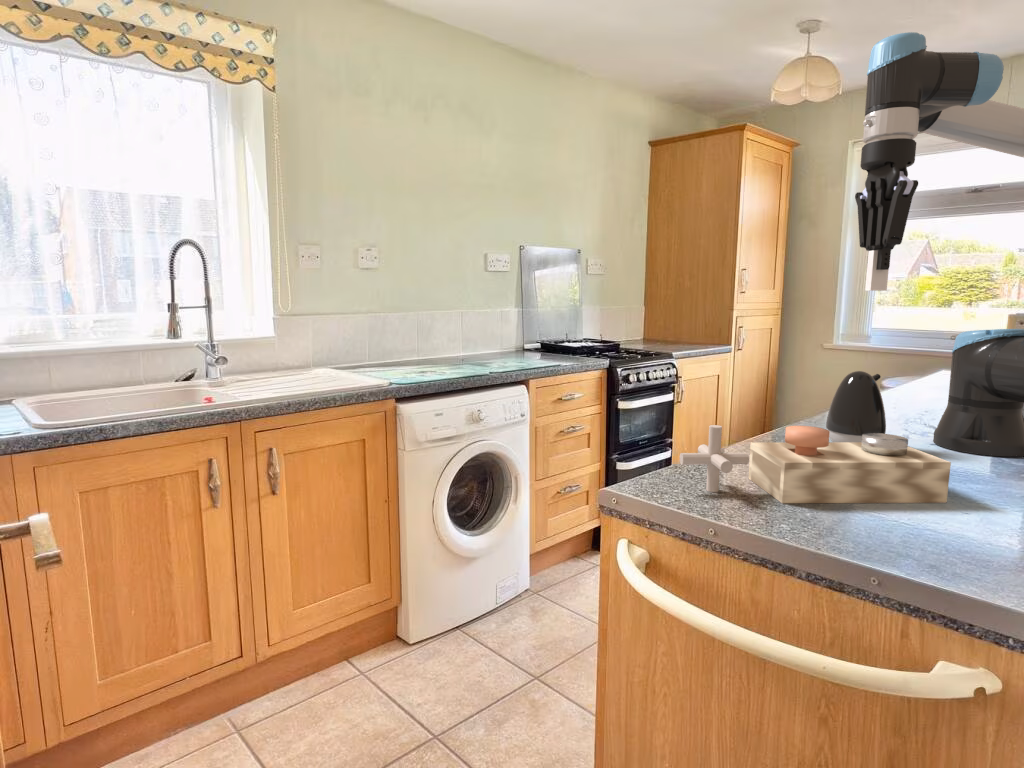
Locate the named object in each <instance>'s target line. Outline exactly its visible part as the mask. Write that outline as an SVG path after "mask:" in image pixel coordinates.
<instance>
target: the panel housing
mask: <svg viewBox="0 0 1024 768" xmlns="http://www.w3.org/2000/svg"><path fill="white" fill-rule="evenodd" d="M861 444H862V442H832V441H831V442H830V441H829V445H828V446H827V447H821V448H817V455H798V454H796V453H795V445H791V444H788V443H786V442H785V441H784V442H780V441H779V442H750V445H749V447H750V448H749V463H748V464H749V465H748V479H749V480H750V481H751V482H753V483H754V484H755V485H757V486H758V487H759V488H761V489H762V490H764V491H765V492H766V493H768V494H769V495H770V496H772V497H773V498H774V499H776V500H777V501H778V502H780V503H781V504H899V503H901V504H903V503H904V504H909V503H912V504H929V503H930V504H932V503H933V504H935V503H938V504H940V503H942V504H943V503H947V501H948V493H949V492H948V491H949V483H950V475H951V474H950V473H951V465H952V462H951V461H948V460H945V459H943V458H940V457H938V456H935V455H932V454H929V453H928V452H924V451H921V450H919V449H916V448H914V447H912V446H911V447H910V446H909V445H908V448H907V454H905V455H877V454H875V453H871V452H867V451H865V450H863V449H861Z"/></svg>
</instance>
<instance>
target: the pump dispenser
mask: <svg viewBox="0 0 1024 768" xmlns="http://www.w3.org/2000/svg"><path fill="white" fill-rule="evenodd" d="M881 377H882V376H881V374H879V373H876V374H874V375H871V374H870V373H869V372H866V371H863V370H856V371H855V370H854V371H852V372H849V373H848V374H847V375H845V377H844V378H843V379H842V380H841V382H840V384H839V385H838V386H837V388H836V390H835V393H834V396H833V397H832V400H831V402H830V406H829V409H828V411H827V412H828V414H827V417H826V424H825V428H826V430H828V431H829V432H830V434H829V440H831V442H862V435H863V434H866V433H882V434H887V433H886V432H887V431H886V430H887V423H886V422H887V421H886V419H887V418H886V411H885V405H884V401H883V397H882V396H883V395H882V393H881V390H880V387H879V384H878V383H877V382H878V380H880V379H881Z"/></svg>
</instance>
